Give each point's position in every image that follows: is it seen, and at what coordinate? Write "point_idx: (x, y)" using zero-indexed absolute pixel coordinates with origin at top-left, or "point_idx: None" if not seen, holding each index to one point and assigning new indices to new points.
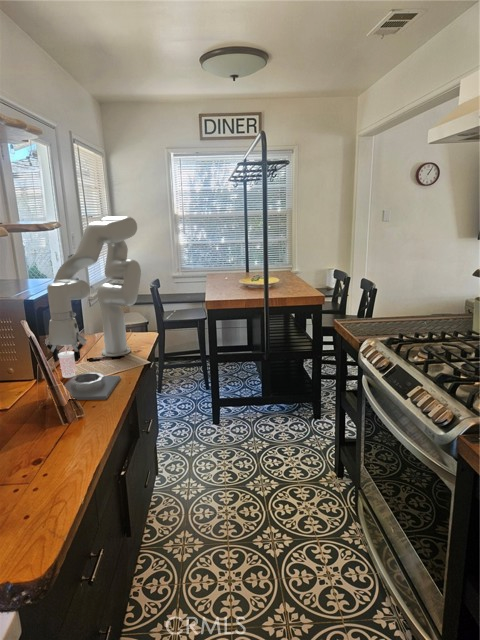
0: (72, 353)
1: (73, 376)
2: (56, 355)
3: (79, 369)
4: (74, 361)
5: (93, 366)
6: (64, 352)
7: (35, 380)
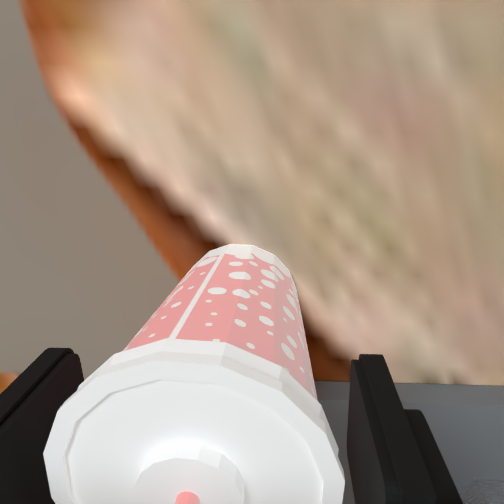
0: (297, 471)
1: (323, 399)
2: (44, 490)
3: (282, 133)
4: (312, 375)
5: (426, 26)
6: (111, 411)
7: (14, 378)
